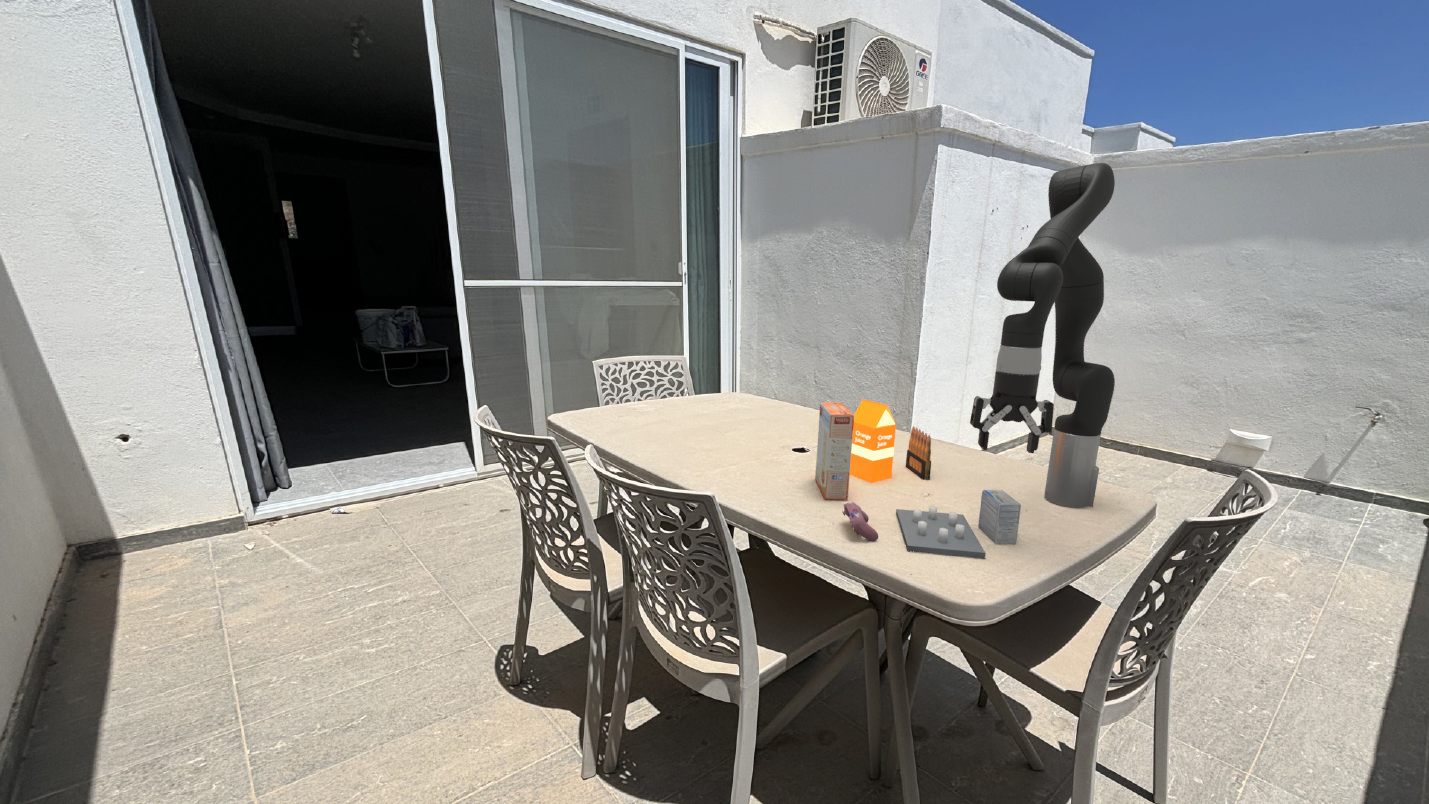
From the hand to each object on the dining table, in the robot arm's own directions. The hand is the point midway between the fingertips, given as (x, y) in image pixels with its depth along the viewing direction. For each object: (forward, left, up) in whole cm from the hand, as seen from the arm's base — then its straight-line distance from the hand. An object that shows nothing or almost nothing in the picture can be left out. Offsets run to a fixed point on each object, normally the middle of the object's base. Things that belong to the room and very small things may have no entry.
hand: (1006, 450), depth 113 cm
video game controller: (+27, +4, -19) cm, 33 cm away
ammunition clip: (+10, -37, -19) cm, 42 cm away
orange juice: (+23, -32, -19) cm, 43 cm away
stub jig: (+12, +2, -18) cm, 22 cm away
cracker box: (+33, -19, -18) cm, 42 cm away
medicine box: (0, 0, -19) cm, 19 cm away
